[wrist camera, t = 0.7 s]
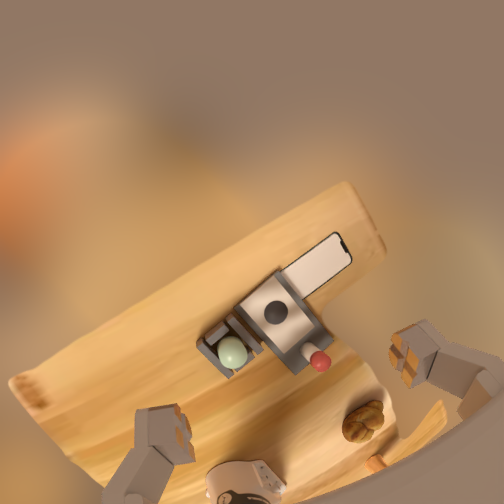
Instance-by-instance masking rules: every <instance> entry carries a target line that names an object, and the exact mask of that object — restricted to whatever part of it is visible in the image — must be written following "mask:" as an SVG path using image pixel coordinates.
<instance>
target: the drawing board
mask: <svg viewBox="0 0 504 504" xmlns="http://www.w3.org/2000/svg"><path fill="white" fill-rule="evenodd" d="M234 309H235V310H236V311H237V312H238V313H239V315H240V316H241V317H242V318H243V319H244V320H245V321H246V322H247V324H248V325H249V326H250V327H251V328H252V329H253V330H254V331H255V332H256V334H257V335H258V336H259V337H260V338H261V339H262V340H263V341H264V342H265V343H266V344H267V346H268V347H269V348H270V349H271V350H272V351H273V352H274V353H275V354H276V355H277V356H278V357H279V359H280V360H281V361H282V362H283V363H284V364H285V365H286V366H287V367H288V368H289V369H290V370H291V371H292V372H293V373H294V374H295V375H297V374H298V373H299V372H300V371H301V370H302V369H304V368H305V367H306V366H307V365H308V364H309V363H310V362H309V361H308V360H307V359H306V358H305V357H304V356H303V355H302V354H301V353H300V348H301V346H302V345H303V344H304V343H306V342H311V343H312V344H314V345H315V346H316V347H317V348H318V349H320V350H321V351H324V350H325V349H326V348H327V347H328V346H329V345H330V344H331V343H332V342H333V341H334V340H333V339H332V337H331V336H330V335H329V334H328V332H327V331H326V330H325V329H324V327H323V326H322V325H321V323H320V322H319V321H318V320H317V318H316V317H315V316H314V315H313V313H312V312H311V311H310V310H309V308H308V307H307V306H306V305H305V303H304V302H303V301H302V300H301V298H300V297H299V296H298V295H297V293H296V292H295V291H294V290H293V288H292V287H291V286H290V284H289V283H288V282H287V281H286V279H285V278H284V277H283V276H282V274H281V273H280V272H279V271H278V270H277V271H275V272H274V273H273V274H272V275H271V276H270V277H269V278H267V279H266V280H265V281H264V282H263V283H262V284H260V285H259V286H258V287H257V288H256V289H255V290H254V291H252V292H251V293H250V294H249V295H248V296H247V297H245V298H244V299H243V300H242V301H241V302H240V303H238V304H237V305H236V306H235V307H234Z"/></svg>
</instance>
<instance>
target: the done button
mask: <svg viewBox="0 0 504 504" xmlns="http://www.w3.org/2000/svg"><path fill="white" fill-rule="evenodd" d="M217 351H218V355H219V359H220V361H221V363H222V364H223V365H224V366H225V367H227V368H230V369H236V368H239V367H241V366H242V365H243V364H244V363H245V362H246V360H247V356H248V354H247V351H246V349H245V347H244V345H243V343H242V341H241V340H240V339H239V338H237V337H235V336H227V337H224V338H223V339H221V340H220V342H219V343H218V346H217Z"/></svg>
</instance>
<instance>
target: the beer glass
mask: <svg viewBox="0 0 504 504" xmlns="http://www.w3.org/2000/svg"><path fill="white" fill-rule="evenodd" d="M388 466H390V465H389V464H387V463H386V462H385V461H384V459H383V457H382V456H381V455H380V454H377V455H374V456H372V457H370V458H369V459H368V460H367V461H366V463H365V468H366V469H367V470H368V471H370V472H371V473H372V474H374V473H376V472H378V471H380V470H382V469H384V468H386V467H388Z"/></svg>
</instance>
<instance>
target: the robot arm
mask: <svg viewBox="0 0 504 504" xmlns="http://www.w3.org/2000/svg"><path fill="white" fill-rule="evenodd" d="M391 341H392V342H393V344H392V346H391V347H390V348H389V358H390V361H391V364H392V366H393V367H394V368H395V369H396V370H398V371H400V372H401V378H402V380H403V381H404V382H405V384H406V385H407V386H408V388H409V389H411V388H413V387H414V386H416V385H419V384H420V383H422V382H424V381H426V380H427V382H429V383H431V384H433V385H435V386H437V387H439V388H441V389H443V390H445V391H447V392H449V393H451V394H453V395H455V396H457V397H459V398H461V399H462V401H461V403H460V405H459V406H458V408H457V412H458V414H459V415H460V417H461V418H462V419H463V422H461V423H460V424H458V425H457V426H455V427H454V428H453V429H451V430H450V431H448V432H447V433H445V434H444V435H442V436H441V437H439V438H437V439H436V440H434V441H433V442H431V443H429V444H428V445H426V446H425V447H423V448H421V449H419V450H418V451H416V452H414V453H412V454H411V455H409V456H407V457H405V458H403V459H402V460H400V461H398V462H396V463H394V464H392V465H390V466H388V467H386V468H384V469H382V470H380V471H378V472H376V473H374V474H372V475H369V476H367V477H365V478H363V479H360V480H358V481H356V482H353V483H351V484H349V485H346V486H344V487H341V488H339V489H336V490H333V491H331V492H328V493H325V494H322V495H320V496H317V497H314V498H311V499H308V500H304V501H301V502H298V503H295V504H504V362H503V361H502V360H501V359H500V358H499V357H497V356H494V355H491V354H488V353H485V352H482V351H478V350H475V349H472V348H469V347H466V346H463V345H460V344H457V343H454V342H452V343H449V342H448V341H447V340H446V339H445V338H444V337H443V335H442V334H441V333H440V332H439V331H438V330H437V329H436V328H435V327H434V326H433V325H432V324H431V323H430V322H429V321H428V320H426V319H423V320H421V321H419V322H417V323H415V324H412V325H410V326H408V327H406V328H404V329H402V330H400V331H398V332H396V333H394V334H393V335H392V338H391ZM191 438H192V431H191V427H190V424H189V421H188V419H187V417H186V416H185V414H183V413H181V411H180V407H179V406H178V404H177V403H175V404H169V405H163V406H157V407H150V408H143V409H137V410H136V413H135V437H134V448H131V449H130V451H129V452H128V454H127V455H126V457H125V458H124V460H123V461H122V463H121V465H120V466H119V468H118V469H117V471H116V472H115V474H114V475H113V477H112V478H111V480H110V481H109V483H108V484H107V486H106V487H105V489H104V490H103V492H102V504H158V502H159V500H160V498H161V495H162V493H163V491H164V489H165V487H166V484H167V482H168V480H169V478H170V476H171V473H172V471H173V469H174V465H180V464H186V463H192V462H196V461H195V453H194V447H193V445H192V444H191V443H190V442H189V441H190V439H191ZM206 485H207V490H206V496H207V497H208V498H210V501H211V504H280V502H281V496H280V495H281V494H282V493H283V492H284V491H285V489H286V485H285V484H284V483H283V482H282V481H281V480H280V479H279V477H278V476H277V475H276V474H275V473H274V472H273V471H272V470H271V469H270V468H269V466H268V465H267V464H266V463H265V462H264V461H263V460H256V461H251V462H245V461H232V462H227V463H223V464H221V465H218V466H216V467H215V468H213V469H212V470H211V471H210V472H209V473H208V474H207V476H206Z"/></svg>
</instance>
